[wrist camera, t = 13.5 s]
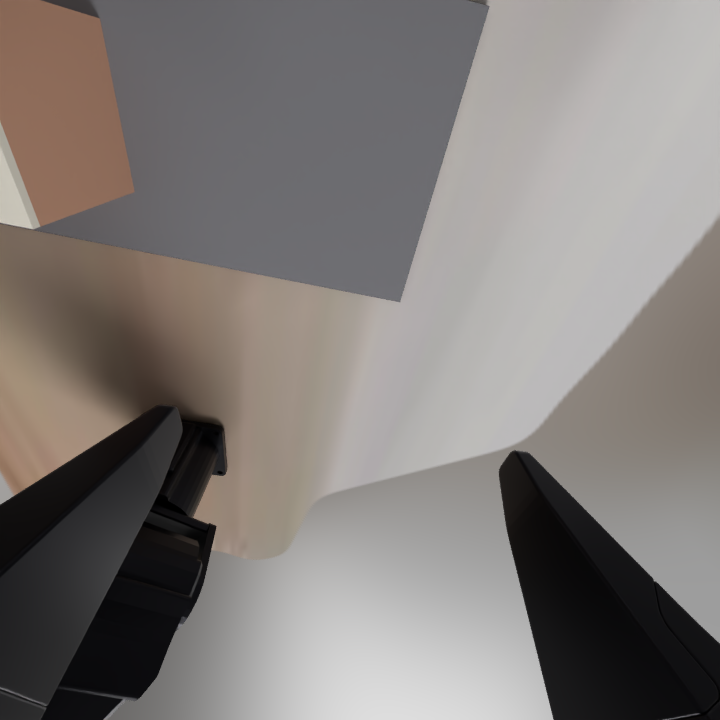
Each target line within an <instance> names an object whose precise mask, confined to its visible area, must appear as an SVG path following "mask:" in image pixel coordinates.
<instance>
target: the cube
mask: <svg viewBox="0 0 720 720" xmlns="http://www.w3.org/2000/svg"><path fill="white" fill-rule="evenodd" d="M134 192H135V191H134V186H133V181H132V176H131V171H130V166H129V161H128V156H127V151H126V146H125V141H124V136H123V131H122V126H121V121H120V116H119V111H118V107H117V102H116V97H115V92H114V87H113V82H112V77H111V72H110V67H109V62H108V57H107V52H106V47H105V42H104V37H103V32H102V27H101V22H100V18H96V17H93V16H90V15H87V14H83V13H80V12H77V11H74V10H71V9H67V8H64V7H61V6H58V5H54V4H51V3H48V2H45V1H41V0H0V223H4V224H9V225H14V226H19V227H24V228H29V229H35V228H38V227H41V226H44V225H46V224H49V223H52V222H54V221H57V220H60V219H63V218H65V217H68V216H71V215H74V214H76V213H79V212H82V211H84V210H87V209H90V208H93V207H95V206H98V205H101V204H104V203H106V202H109V201H112V200H114V199H117V198H120V197H123V196H125V195H128V194H131V193H134Z"/></svg>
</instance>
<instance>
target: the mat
mask: <svg viewBox="0 0 720 720" xmlns="http://www.w3.org/2000/svg"><path fill="white" fill-rule="evenodd" d="M41 1H45V2H48V3H51V4H54V5H58V6H61V7H64V8H67V9H71V10H74V11H77V12H80V13H83V14H87V15H90V16H93V17H96V18H100V22H101V27H102V32H103V37H104V42H105V47H106V52H107V57H108V62H109V67H110V72H111V77H112V82H113V87H114V92H115V97H116V102H117V107H118V111H119V116H120V121H121V126H122V131H123V136H124V141H125V146H126V151H127V156H128V161H129V166H130V171H131V176H132V181H133V186H134V191H135V192H134V193H131V194H128V195H125V196H123V197H120V198H117V199H114V200H112V201H109V202H106V203H104V204H101V205H98V206H95V207H93V208H90V209H87V210H84V211H82V212H79V213H76V214H74V215H71V216H68V217H65V218H63V219H60V220H57V221H54V222H52V223H49V224H46V225H44V226H41V227H38V228H35V229H30V230H35V231H40V232H45V233H51V234H56V235H61V236H66V237H71V238H76V239H81V240H86V241H91V242H96V243H101V244H107V245H112V246H117V247H122V248H127V249H132V250H137V251H142V252H147V253H152V254H157V255H163V256H168V257H173V258H178V259H183V260H188V261H193V262H198V263H203V264H208V265H213V266H219V267H224V268H229V269H234V270H239V271H244V272H249V273H254V274H259V275H264V276H269V277H275V278H280V279H285V280H290V281H295V282H300V283H305V284H310V285H315V286H320V287H325V288H330V289H336V290H341V291H346V292H351V293H356V294H361V295H366V296H371V297H376V298H381V299H386V300H392V301H397V302H400V300H401V297H402V294H403V290H404V287H405V284H406V280H407V277H408V274H409V270H410V267H411V264H412V261H413V257H414V254H415V251H416V247H417V244H418V241H419V237H420V234H421V231H422V227H423V224H424V221H425V218H426V214H427V211H428V208H429V204H430V201H431V198H432V194H433V191H434V188H435V185H436V181H437V178H438V175H439V171H440V168H441V165H442V161H443V158H444V155H445V151H446V148H447V145H448V142H449V138H450V135H451V132H452V128H453V125H454V122H455V118H456V115H457V112H458V109H459V105H460V102H461V99H462V95H463V92H464V89H465V85H466V82H467V79H468V76H469V72H470V69H471V66H472V62H473V59H474V56H475V52H476V49H477V46H478V42H479V39H480V36H481V33H482V29H483V26H484V23H485V19H486V16H487V13H488V9H489V6H487V5H483V4H480V3H476V2H473V1H469V0H41ZM0 224H4V223H0ZM5 225H9V224H5ZM10 226H14V225H10ZM15 227H19V226H15ZM20 228H24V227H20ZM25 229H29V228H25Z"/></svg>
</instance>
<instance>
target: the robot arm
mask: <svg viewBox="0 0 720 720" xmlns="http://www.w3.org/2000/svg"><path fill="white" fill-rule="evenodd" d="M226 472H227V460H226V448H225V436H224V429H223V428H222V427H221V426H218V425H212V424H205V423H199V422H192V421H186V420H181V419H180V415H179V411H178V408H177V407H176V406H171V405H163V404H161V405H157V406H155V407H154V408H152V409H151V410H149V411H148V412H146V413H144V414H143V415H141V416H140V417H138V418H136V419H135V420H133V421H132V422H130V423H129V424H127V425H125V426H124V427H122V428H121V429H119V430H118V431H116V432H114V433H113V434H111V435H110V436H108V437H106V438H105V439H103V440H102V441H100V442H99V443H97V444H95V445H94V446H92V447H91V448H89V449H88V450H86V451H84V452H83V453H81V454H80V455H78V456H76V457H75V458H73V459H72V460H70V461H69V462H67V463H65V464H64V465H62V466H61V467H59V468H58V469H56V470H54V471H53V472H51V473H50V474H48V475H46V476H45V477H43V478H42V479H40V480H39V481H37V482H35V483H34V484H32V485H31V486H29V487H28V488H26V489H24V490H23V491H21V492H20V493H18V494H16V495H15V496H13V497H12V498H10V499H9V500H7V501H6V502H4V503H2V504H1V505H0V720H107V719H108V718H109V717H110V716H111V715H112V714H113V713H114V712H115V711H116V710H117V709H118V708H119V707H120V706H121V704H123V703H124V702H125V701H126V700H132V701H136V700H138V698H140V697H141V696H142V695H143V693H144V692H145V691H146V690H147V688H148V687H149V686H150V685H151V684H152V682H153V681H154V680H155V679H156V677H157V675H158V673H159V670H160V668H161V665H162V663H163V660H164V657H165V655H166V652H167V650H168V647H169V645H170V642H171V640H172V638H173V635H174V633H175V631H176V630H177V629H179V628H180V627H181V625H183V623H184V622H185V621H186V619H187V618H188V616H189V614H190V613H191V611H192V609H193V607H194V605H195V603H196V601H197V599H198V597H199V594H200V592H201V589H202V586H203V583H204V579H205V575H206V571H207V566H208V562H209V557H210V552H211V548H212V544H213V540H214V535H215V531H216V526H215V525H213V524H210V523H209V524H207V523H204V522H202V521H199V520H197V519H194V518H193V516H194V514H195V512H196V509H197V507H198V505H199V503H200V500H201V498H202V496H203V493H204V491H205V489H206V487H207V484H208V482H209V480H210V478H211V475H219V476H223V475H225V474H226ZM499 480H500V487H501V494H502V501H503V508H504V515H505V521H506V527H507V532H508V537H509V541H510V545H511V550H512V554H513V557H514V561H515V566H516V570H517V574H518V578H519V582H520V586H521V589H522V593H523V598H524V602H525V606H526V610H527V614H528V618H529V622H530V626H531V630H532V634H533V638H534V642H535V646H536V650H537V654H538V659H539V662H540V666H541V671H542V675H543V679H544V683H545V687H546V691H547V695H548V699H549V703H550V707H551V711H552V715H553V719H554V720H720V643H718V642H717V641H716V640H715V639H714V638H713V637H712V636H711V635H710V634H709V633H708V632H707V631H706V630H705V629H703V627H701V626H700V625H699V624H698V623H697V622H696V621H695V620H694V619H693V618H692V617H691V616H690V615H689V614H688V613H687V612H686V611H685V610H684V609H683V608H682V607H681V606H680V605H679V604H678V603H677V602H676V601H675V600H674V599H673V598H672V597H671V596H670V595H669V594H668V593H667V592H666V591H665V590H664V589H663V588H662V587H661V586H660V585H659V584H658V583H657V582H654V580H653V578H652V577H651V576H650V575H649V574H648V573H647V572H646V571H645V570H644V569H643V568H642V567H641V566H640V565H639V564H638V563H637V562H636V561H635V560H634V559H633V558H632V557H631V556H630V555H629V554H628V553H627V552H626V551H625V550H624V549H623V548H622V547H621V546H620V545H619V544H618V542H616V541H615V540H614V538H612V537H611V536H610V534H609V533H607V531H606V530H605V529H604V528H603V527H602V526H601V525H600V524H599V523H598V522H597V521H596V520H595V519H594V518H593V517H592V516H591V515H590V514H589V513H588V512H587V511H586V510H585V509H584V508H583V507H582V506H581V505H580V504H579V503H578V502H577V501H576V500H575V499H574V498H573V497H572V496H571V495H570V494H569V493H568V492H567V491H566V490H565V489H564V488H563V487H562V486H561V485H560V484H559V483H558V482H557V481H556V480H555V479H554V478H553V477H552V476H551V475H550V474H549V473H548V472H547V471H546V470H545V469H544V468H543V467H542V465H540V463H539V462H537V460H536V459H535V458H534V457H533V456H531V455H530V454H529V453H528V452H523V451H516V450H514V451H512V452H510V454H509V455H508V457H507V458H506V460H505V461H504V462H503V464H502V465H501V467H500V469H499Z"/></svg>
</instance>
